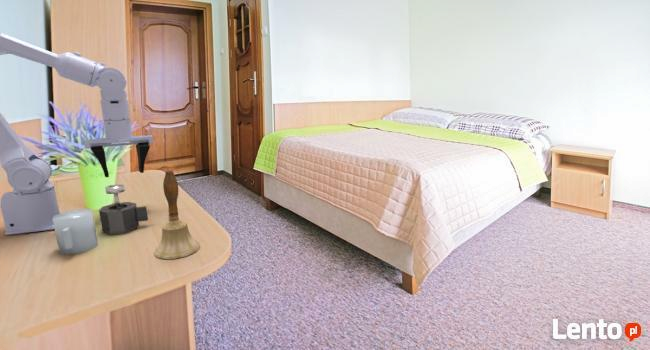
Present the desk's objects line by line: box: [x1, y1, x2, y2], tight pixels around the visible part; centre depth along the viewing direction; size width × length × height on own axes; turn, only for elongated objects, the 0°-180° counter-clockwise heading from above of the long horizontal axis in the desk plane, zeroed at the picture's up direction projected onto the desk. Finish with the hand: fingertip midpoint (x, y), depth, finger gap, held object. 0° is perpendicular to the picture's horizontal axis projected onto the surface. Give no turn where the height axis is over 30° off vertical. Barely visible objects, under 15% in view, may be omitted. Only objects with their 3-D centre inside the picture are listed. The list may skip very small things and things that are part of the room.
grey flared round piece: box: [104, 183, 126, 209], centre depth 78 cm, size 4×4×6 cm
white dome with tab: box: [53, 208, 99, 256], centre depth 68 cm, size 6×8×7 cm
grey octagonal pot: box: [98, 201, 149, 236], centre depth 79 cm, size 9×7×5 cm
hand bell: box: [154, 169, 201, 260], centre depth 67 cm, size 8×8×16 cm
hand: (124, 174), depth 87 cm, fingers open, 7 cm apart
